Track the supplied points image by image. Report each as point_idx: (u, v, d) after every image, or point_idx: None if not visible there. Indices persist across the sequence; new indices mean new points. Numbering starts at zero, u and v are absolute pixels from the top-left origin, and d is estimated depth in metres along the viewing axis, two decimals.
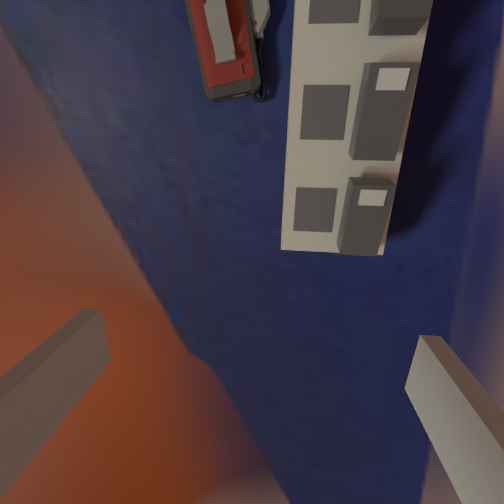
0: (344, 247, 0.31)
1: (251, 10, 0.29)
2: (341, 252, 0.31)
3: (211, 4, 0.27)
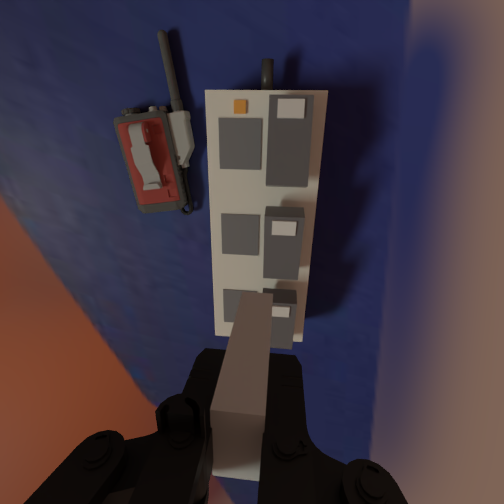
0: None
1: (175, 148, 0.33)
2: None
3: (137, 148, 0.32)
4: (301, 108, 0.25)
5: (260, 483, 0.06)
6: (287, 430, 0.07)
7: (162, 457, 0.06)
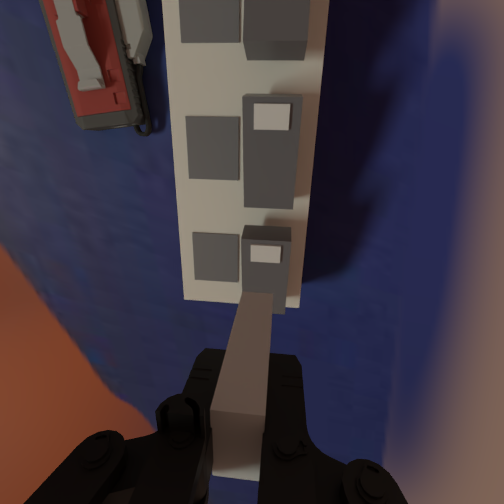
0: None
1: (123, 31, 0.24)
2: None
3: (64, 21, 0.22)
4: None
5: (260, 483, 0.06)
6: (287, 430, 0.07)
7: (162, 457, 0.06)
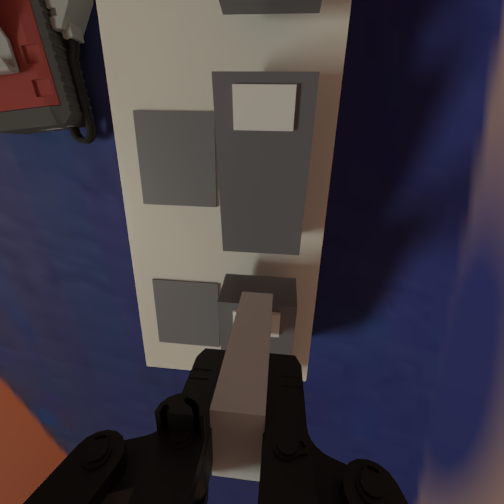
0: None
1: None
2: None
3: None
4: None
5: (261, 483, 0.06)
6: (287, 430, 0.07)
7: (162, 457, 0.06)
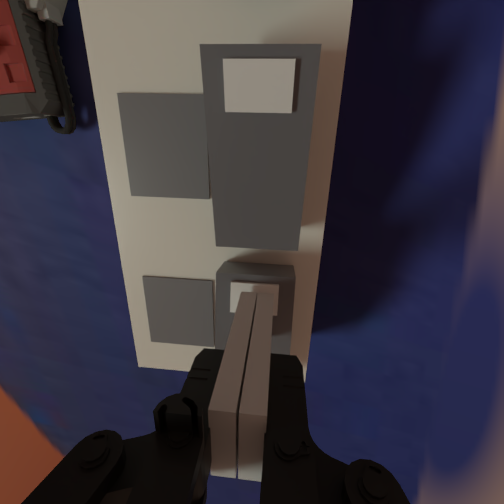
0: None
1: None
2: None
3: None
4: None
5: (262, 483, 0.06)
6: (289, 430, 0.07)
7: (160, 457, 0.06)
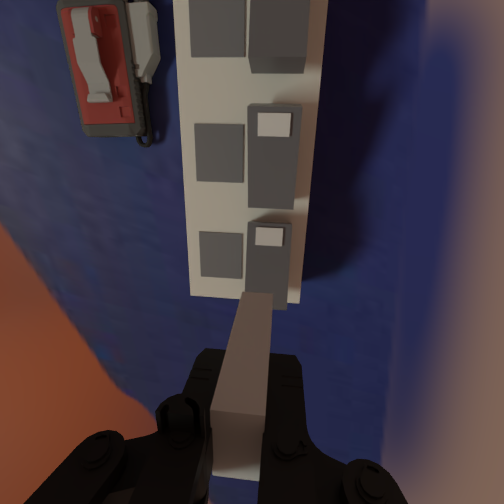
0: None
1: (133, 52, 0.26)
2: None
3: (80, 40, 0.25)
4: None
5: (260, 483, 0.06)
6: (287, 430, 0.07)
7: (162, 457, 0.06)
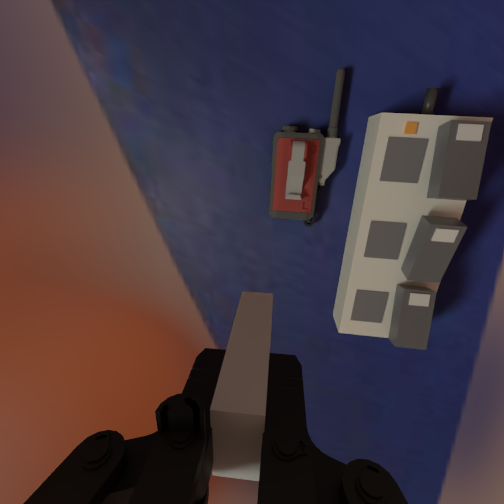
0: (399, 340, 0.38)
1: (321, 167, 0.37)
2: (396, 344, 0.38)
3: (294, 162, 0.36)
4: (480, 133, 0.29)
5: (260, 483, 0.06)
6: (287, 430, 0.07)
7: (162, 457, 0.06)
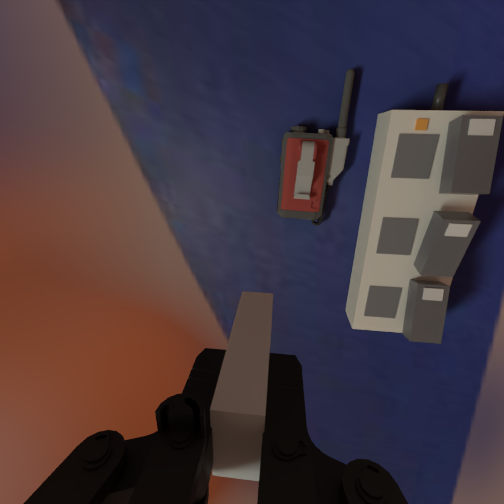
0: (413, 335, 0.38)
1: (329, 167, 0.38)
2: (411, 339, 0.38)
3: (303, 162, 0.36)
4: (492, 127, 0.29)
5: (260, 483, 0.06)
6: (287, 430, 0.07)
7: (162, 457, 0.06)
